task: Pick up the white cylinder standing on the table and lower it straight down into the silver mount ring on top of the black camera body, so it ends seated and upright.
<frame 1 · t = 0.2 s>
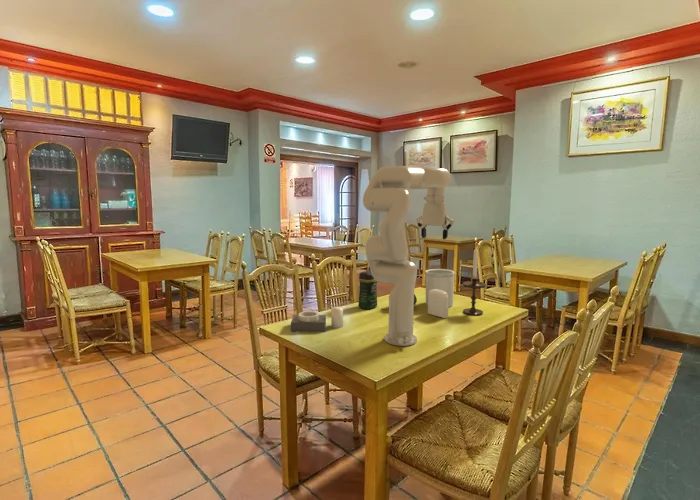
hand: (434, 238, 174), 37 cm above the table, tool pointing down, fingers open, 9 cm apart
white cylinder: (337, 326, 169), on the table
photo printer: (437, 315, 184), on the table
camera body: (309, 327, 167), on the table
fruit: (403, 308, 197), on the table
coffee jar: (368, 307, 198), on the table
utensil holder: (438, 304, 203), on the table
candlestick: (472, 313, 188), on the table
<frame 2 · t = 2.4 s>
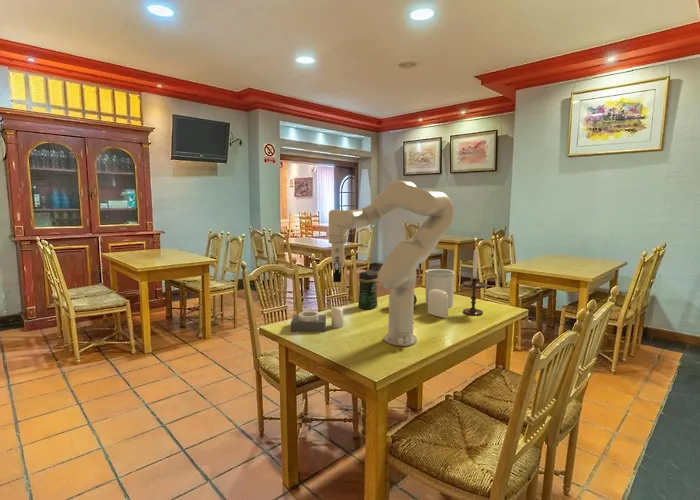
hand: (337, 279, 166), 21 cm above the table, tool pointing down, fingers open, 9 cm apart
nothing on the table moved.
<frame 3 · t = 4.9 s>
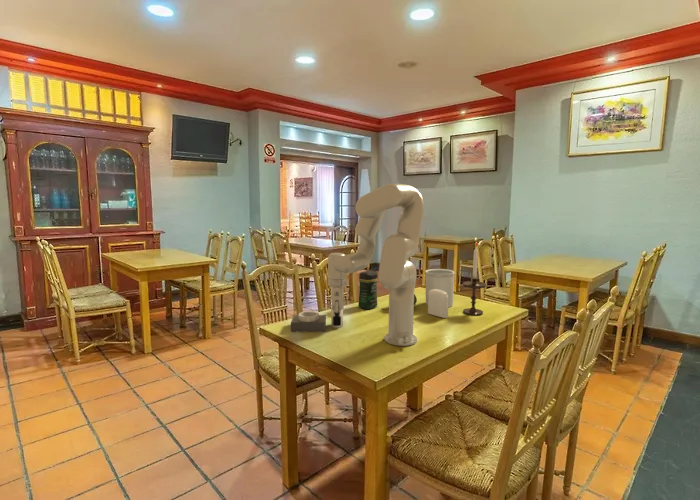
hand: (337, 322, 169), 1 cm above the table, tool pointing down, fingers closed on white cylinder, 5 cm apart
white cylinder: (337, 326, 169), on the table, touching gripper
everything else where it was.
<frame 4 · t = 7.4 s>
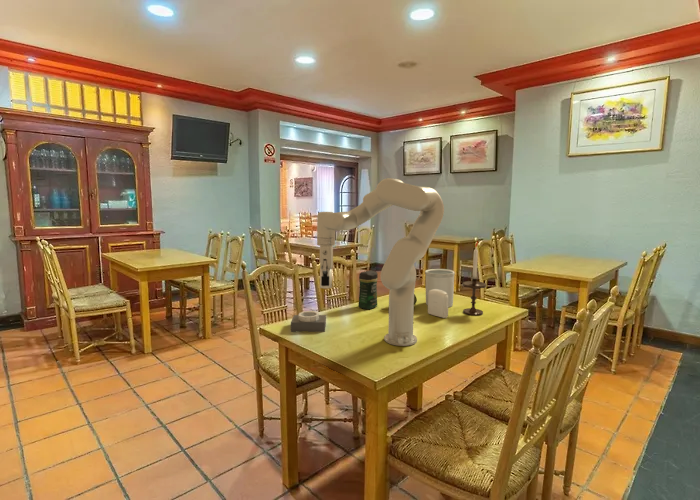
hand: (325, 283, 166), 19 cm above the table, tool pointing down, fingers closed on white cylinder, 5 cm apart
white cylinder: (325, 287, 166), point 17 cm above the table, touching gripper
everything else where it was.
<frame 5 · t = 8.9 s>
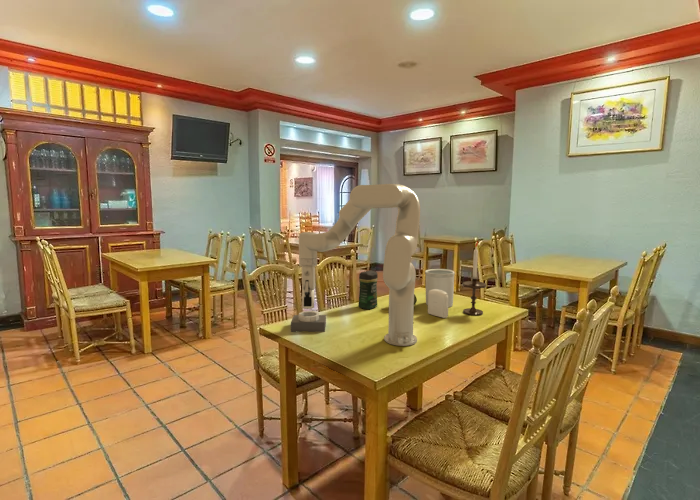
hand: (308, 303, 165), 10 cm above the table, tool pointing down, fingers closed on white cylinder, 5 cm apart
white cylinder: (308, 307, 165), point 9 cm above the table, touching gripper
everything else where it was.
when the fingers open (7 cm above the table, at t = 9.8 s): white cylinder drops 2 cm, resting on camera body.
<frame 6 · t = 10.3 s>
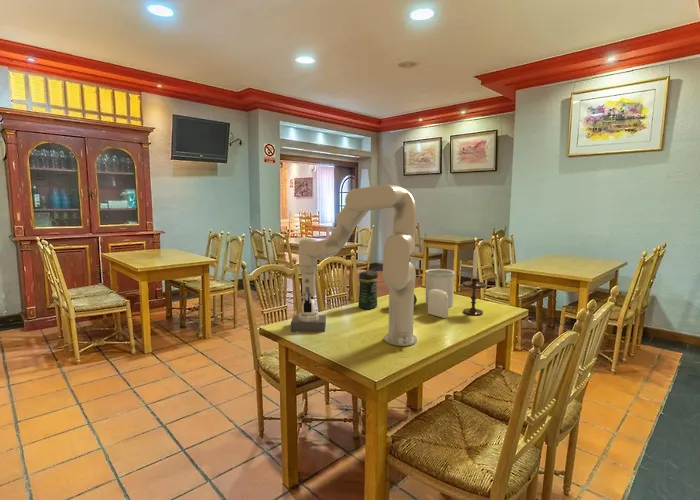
hand: (308, 308, 165), 8 cm above the table, tool pointing down, fingers open, 9 cm apart
white cylinder: (308, 318, 166), point 4 cm above the table, touching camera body
everything else where it was.
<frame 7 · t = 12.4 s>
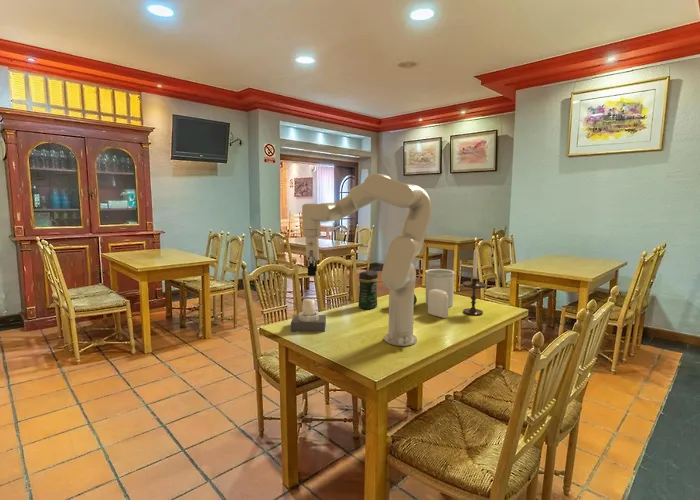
hand: (312, 273, 166), 23 cm above the table, tool pointing down, fingers open, 9 cm apart
nothing on the table moved.
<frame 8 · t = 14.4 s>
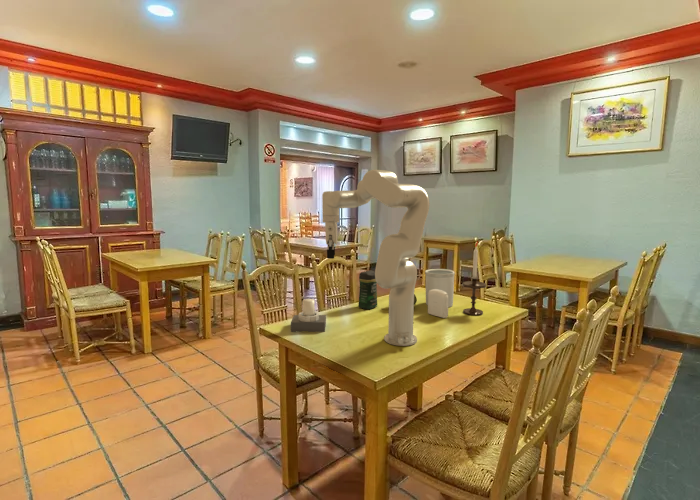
hand: (331, 256, 178), 28 cm above the table, tool pointing down, fingers open, 9 cm apart
nothing on the table moved.
at the end: white cylinder 0.2 cm off-centre on the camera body, point 4.0 cm above the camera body's base; white cylinder tilted 1°; the gripper is holding nothing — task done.
